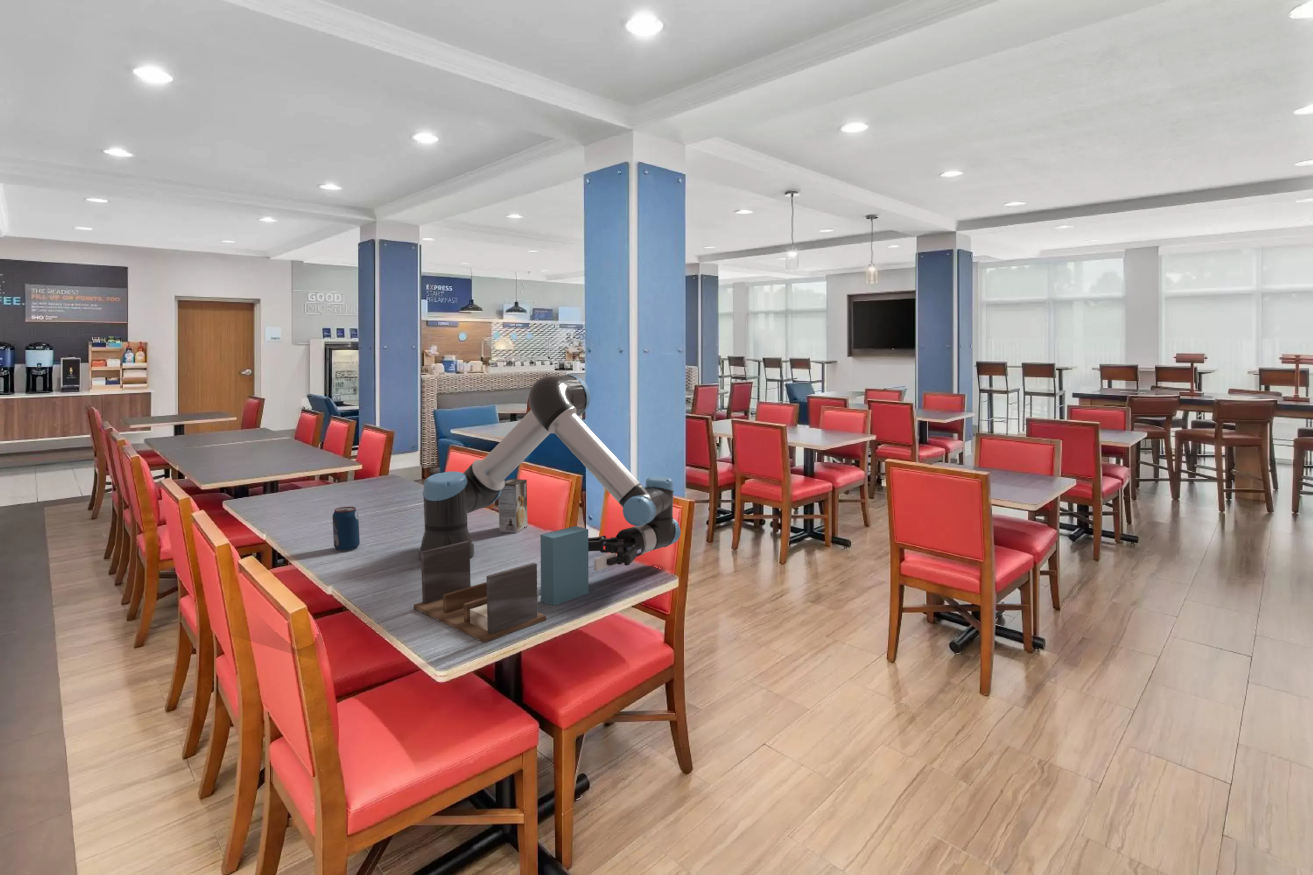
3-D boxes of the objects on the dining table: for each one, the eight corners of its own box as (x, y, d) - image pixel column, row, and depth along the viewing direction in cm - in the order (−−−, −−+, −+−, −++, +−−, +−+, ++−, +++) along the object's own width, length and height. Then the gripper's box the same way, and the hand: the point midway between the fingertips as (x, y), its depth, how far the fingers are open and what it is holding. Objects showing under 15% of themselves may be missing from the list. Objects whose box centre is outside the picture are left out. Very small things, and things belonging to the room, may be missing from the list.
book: (541, 600, 161) (540, 534, 159) (575, 589, 169) (575, 525, 167) (553, 605, 158) (553, 538, 156) (588, 593, 166) (588, 529, 164)
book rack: (413, 608, 155) (411, 553, 153) (474, 590, 167) (472, 538, 165) (484, 642, 137) (482, 579, 136) (545, 619, 149) (545, 562, 148)
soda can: (364, 545, 204) (362, 506, 203) (352, 552, 197) (350, 511, 196) (342, 544, 205) (340, 505, 203) (329, 551, 198) (327, 511, 197)
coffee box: (510, 525, 230) (509, 478, 228) (528, 526, 229) (527, 479, 227) (498, 532, 221) (497, 483, 219) (517, 533, 220) (516, 484, 218)
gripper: (671, 564, 172) (612, 585, 156) (601, 545, 188) (541, 563, 172) (671, 535, 171) (612, 553, 155) (601, 519, 188) (541, 534, 172)
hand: (575, 558), depth 164 cm, fingers open, 13 cm apart
